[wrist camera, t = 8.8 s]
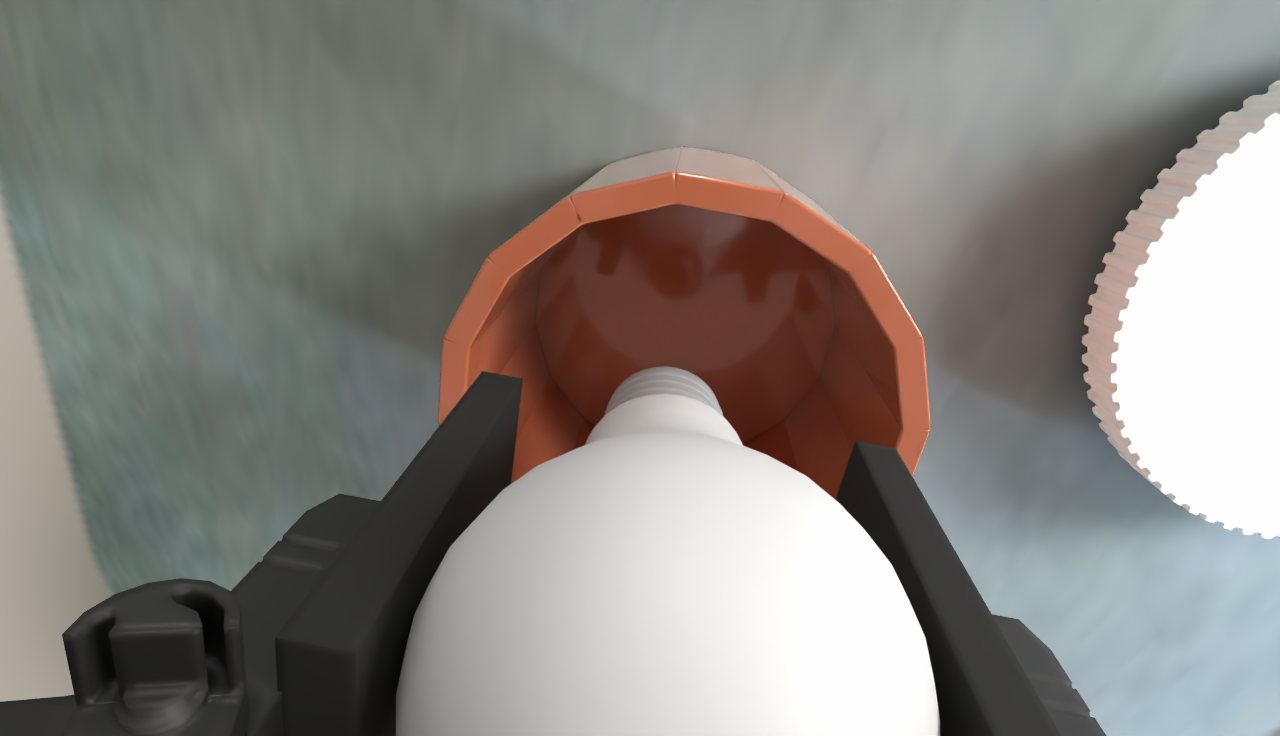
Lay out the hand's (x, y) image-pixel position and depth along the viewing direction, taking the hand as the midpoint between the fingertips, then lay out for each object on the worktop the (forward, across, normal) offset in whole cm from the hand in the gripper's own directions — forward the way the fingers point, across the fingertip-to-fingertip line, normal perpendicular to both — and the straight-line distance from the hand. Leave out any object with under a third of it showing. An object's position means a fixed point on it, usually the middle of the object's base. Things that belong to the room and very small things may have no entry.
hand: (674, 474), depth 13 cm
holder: (+10, 0, 0) cm, 10 cm away
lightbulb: (+3, 0, 0) cm, 3 cm away
